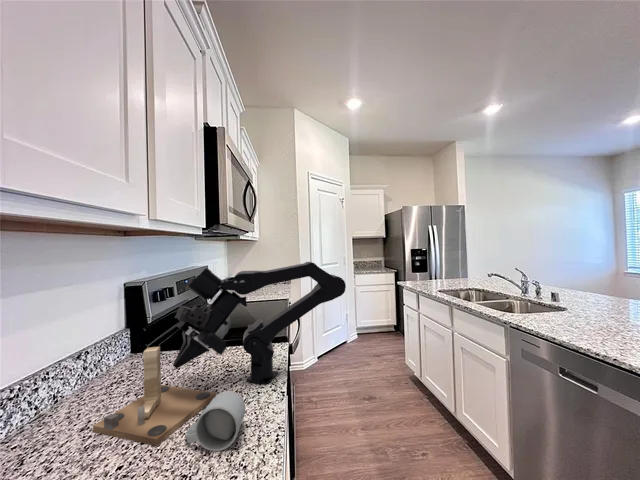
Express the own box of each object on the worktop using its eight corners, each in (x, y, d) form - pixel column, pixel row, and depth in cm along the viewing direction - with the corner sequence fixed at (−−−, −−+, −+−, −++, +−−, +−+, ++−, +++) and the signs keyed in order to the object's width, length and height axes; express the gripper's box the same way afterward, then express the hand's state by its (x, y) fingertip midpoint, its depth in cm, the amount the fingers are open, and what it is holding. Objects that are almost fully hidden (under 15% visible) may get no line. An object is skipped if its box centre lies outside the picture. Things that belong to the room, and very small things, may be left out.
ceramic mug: (247, 422, 60) (246, 384, 60) (238, 450, 51) (236, 406, 52) (195, 426, 59) (193, 388, 59) (177, 455, 51) (175, 411, 51)
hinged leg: (150, 417, 59) (149, 358, 59) (136, 419, 59) (134, 360, 59) (161, 399, 66) (160, 346, 66) (148, 400, 66) (147, 347, 66)
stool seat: (162, 389, 74) (162, 372, 74) (215, 397, 69) (215, 379, 69) (93, 431, 58) (92, 409, 58) (156, 446, 53) (156, 421, 53)
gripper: (184, 288, 79) (137, 339, 71) (212, 297, 65) (158, 361, 57) (213, 312, 84) (172, 362, 76) (244, 325, 70) (199, 386, 63)
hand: (174, 367), depth 68 cm, fingers closed
